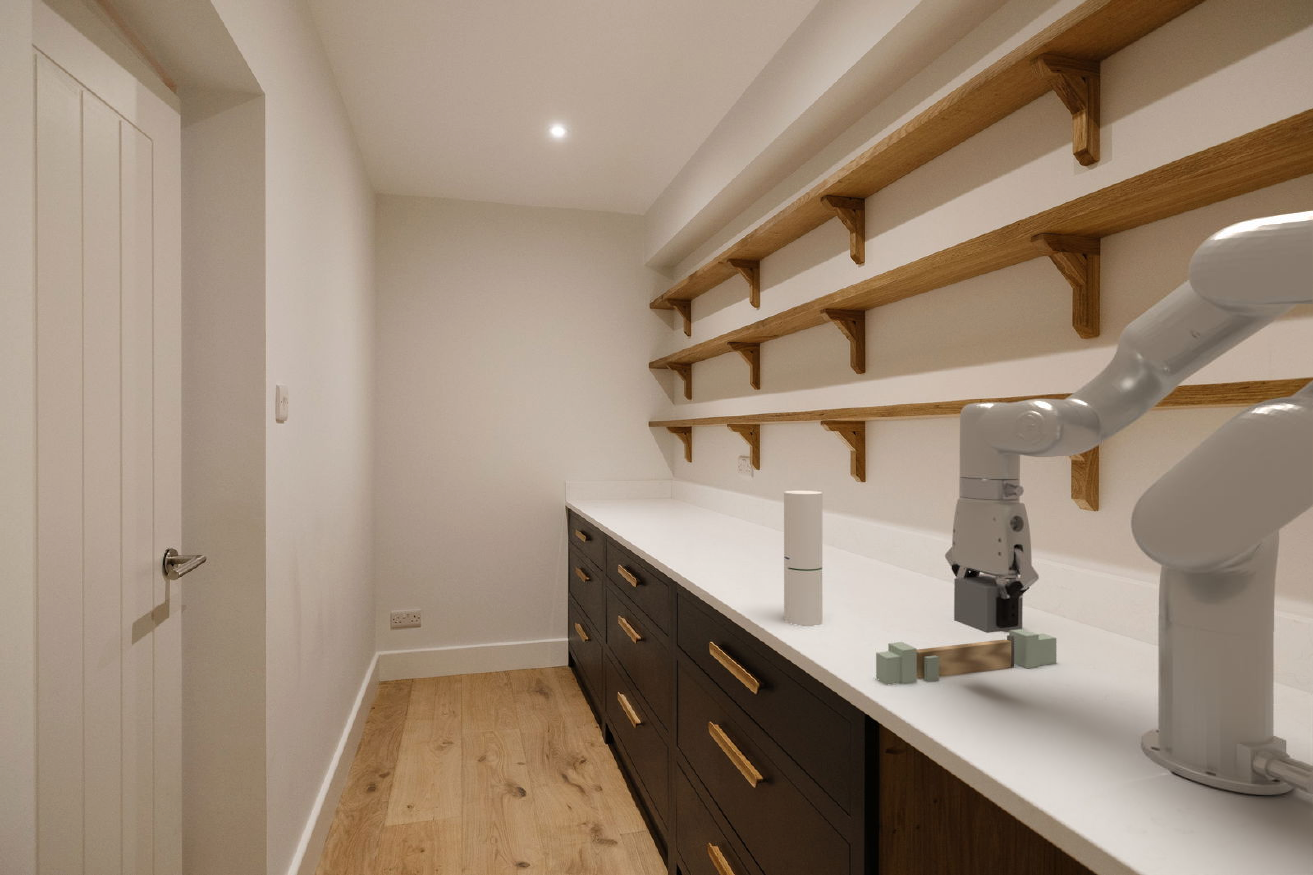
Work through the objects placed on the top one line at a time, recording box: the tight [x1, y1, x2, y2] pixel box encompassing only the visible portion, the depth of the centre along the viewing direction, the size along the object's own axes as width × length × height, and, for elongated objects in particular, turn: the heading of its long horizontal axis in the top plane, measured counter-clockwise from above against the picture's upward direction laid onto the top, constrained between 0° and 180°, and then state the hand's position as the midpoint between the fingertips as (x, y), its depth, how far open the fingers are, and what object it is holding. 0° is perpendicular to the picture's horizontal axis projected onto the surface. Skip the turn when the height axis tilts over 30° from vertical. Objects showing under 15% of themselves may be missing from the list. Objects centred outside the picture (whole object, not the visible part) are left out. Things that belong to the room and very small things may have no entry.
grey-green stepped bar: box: [875, 628, 1057, 685], centre depth 98 cm, size 3×31×5 cm, turn 107°
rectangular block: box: [953, 576, 1024, 634], centre depth 90 cm, size 6×6×6 cm
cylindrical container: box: [783, 490, 823, 627], centre depth 123 cm, size 7×7×25 cm
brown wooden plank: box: [917, 635, 1015, 680], centre depth 98 cm, size 18×3×5 cm, turn 107°
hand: (987, 618), depth 90 cm, fingers closed on rectangular block, 6 cm apart
